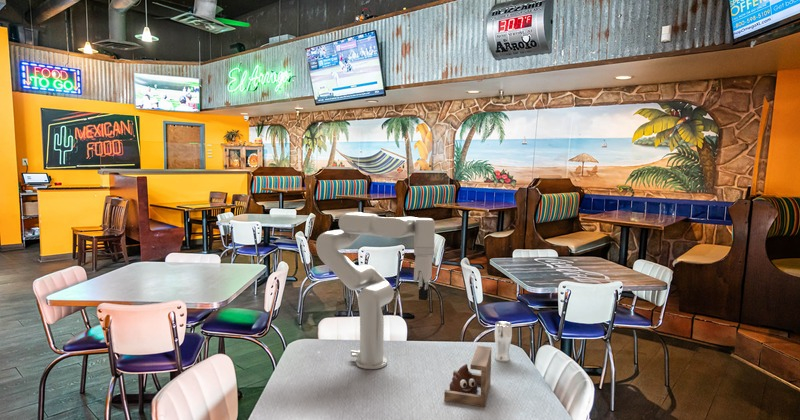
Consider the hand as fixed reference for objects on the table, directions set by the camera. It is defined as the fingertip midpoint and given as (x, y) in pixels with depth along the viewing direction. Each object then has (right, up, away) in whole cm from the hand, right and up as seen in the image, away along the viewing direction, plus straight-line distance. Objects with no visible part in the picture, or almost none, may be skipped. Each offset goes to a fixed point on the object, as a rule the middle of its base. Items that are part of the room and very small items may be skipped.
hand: (423, 299), depth 167 cm
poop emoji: (+14, -30, -10) cm, 35 cm away
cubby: (+14, -30, -11) cm, 35 cm away
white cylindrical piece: (+34, -29, +18) cm, 48 cm away
